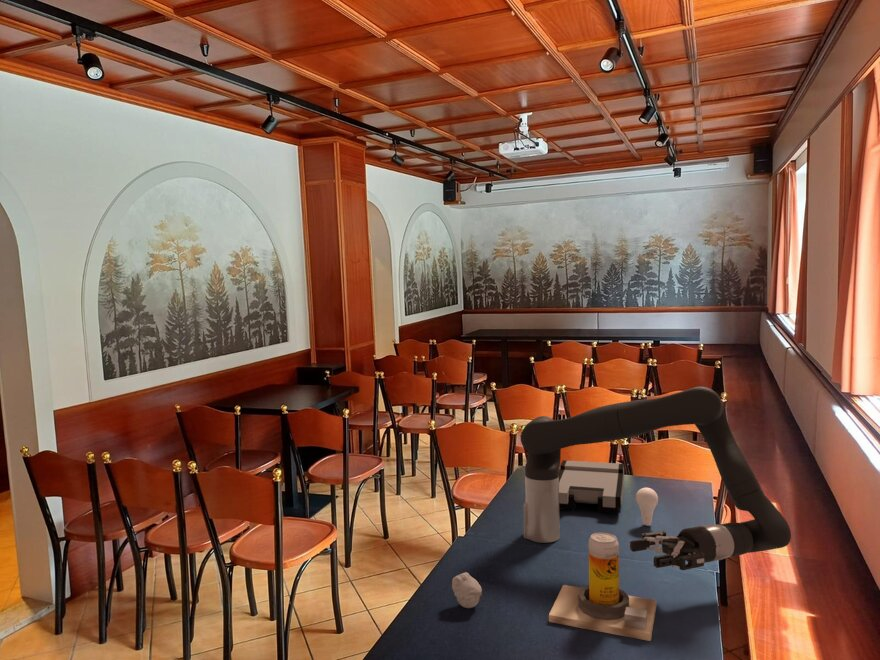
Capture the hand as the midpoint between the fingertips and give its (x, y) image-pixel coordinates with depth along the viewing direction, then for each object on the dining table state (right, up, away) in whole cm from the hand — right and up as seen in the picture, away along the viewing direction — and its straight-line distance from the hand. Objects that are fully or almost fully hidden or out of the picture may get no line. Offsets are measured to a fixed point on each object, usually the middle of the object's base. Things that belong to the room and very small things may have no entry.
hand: (642, 554), depth 133 cm
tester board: (-9, -12, -2) cm, 15 cm away
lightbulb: (+16, -9, +46) cm, 49 cm away
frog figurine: (-37, -13, +3) cm, 39 cm away
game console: (+5, -8, +70) cm, 70 cm away
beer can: (-9, -11, -2) cm, 14 cm away
